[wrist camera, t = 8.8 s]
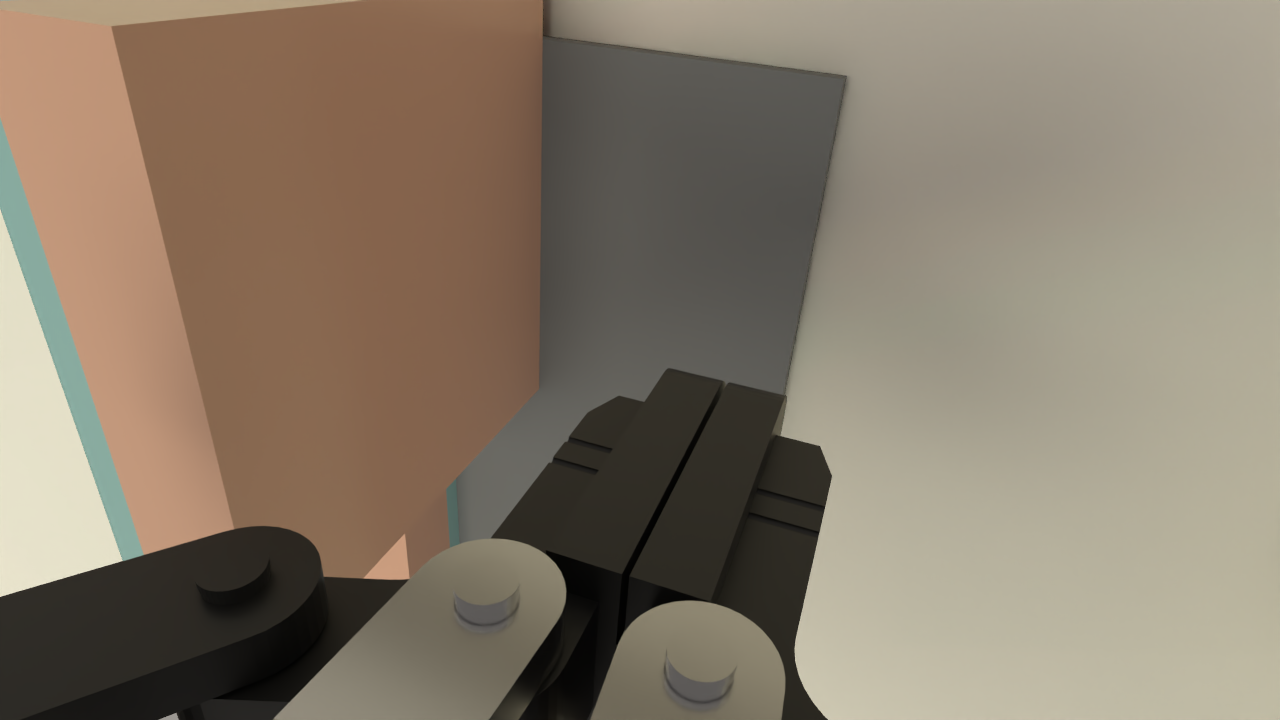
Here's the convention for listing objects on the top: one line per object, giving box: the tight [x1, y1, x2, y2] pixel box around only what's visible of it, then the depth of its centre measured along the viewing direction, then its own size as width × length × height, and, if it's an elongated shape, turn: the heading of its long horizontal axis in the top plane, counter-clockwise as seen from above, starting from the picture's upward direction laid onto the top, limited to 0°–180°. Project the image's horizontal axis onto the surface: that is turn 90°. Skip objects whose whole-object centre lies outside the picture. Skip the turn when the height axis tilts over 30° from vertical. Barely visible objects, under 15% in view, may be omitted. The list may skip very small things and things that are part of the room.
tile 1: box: [0, 0, 543, 578], centre depth 13 cm, size 2×9×9 cm, turn 176°
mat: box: [456, 36, 847, 544], centre depth 20 cm, size 16×18×1 cm
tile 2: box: [364, 479, 460, 580], centre depth 23 cm, size 2×9×9 cm
